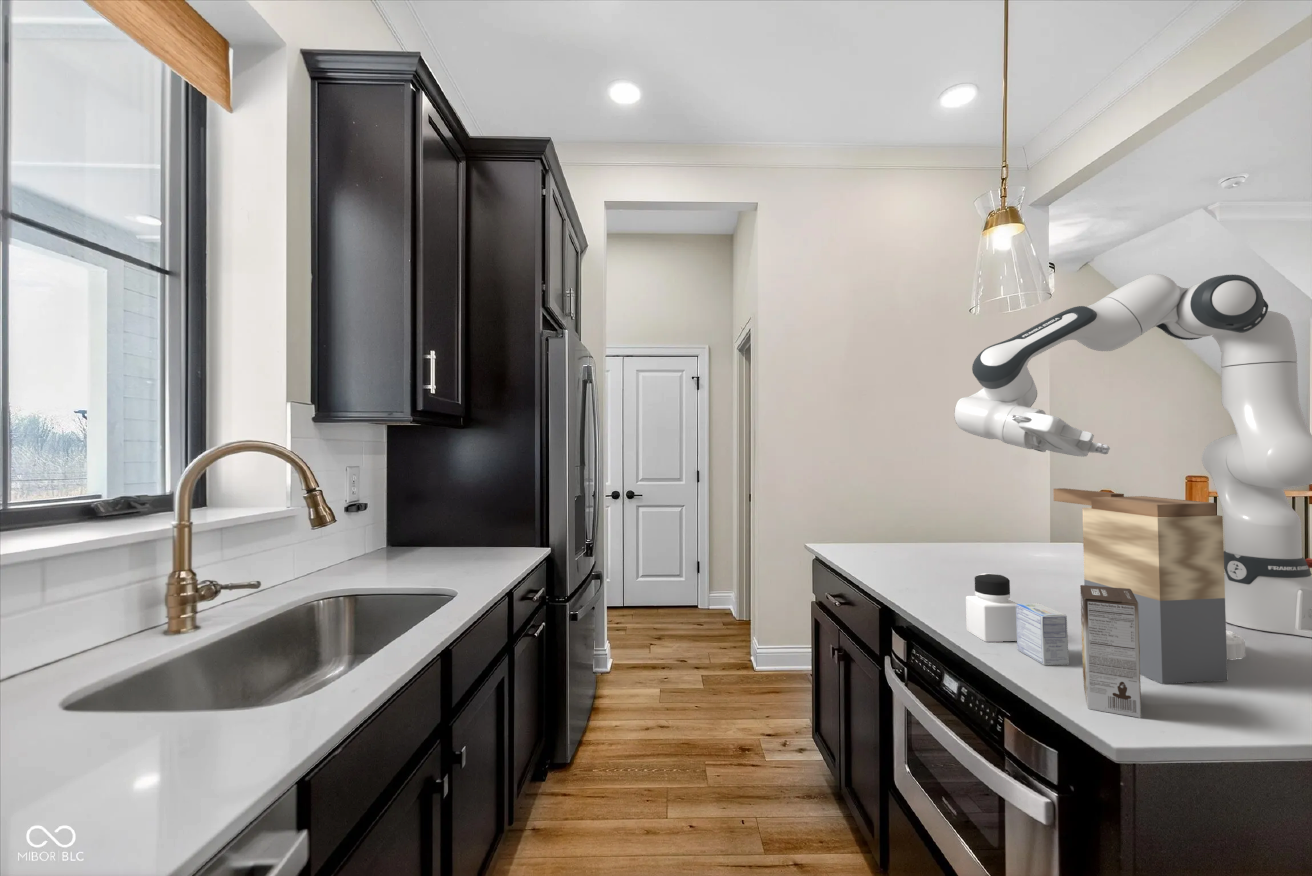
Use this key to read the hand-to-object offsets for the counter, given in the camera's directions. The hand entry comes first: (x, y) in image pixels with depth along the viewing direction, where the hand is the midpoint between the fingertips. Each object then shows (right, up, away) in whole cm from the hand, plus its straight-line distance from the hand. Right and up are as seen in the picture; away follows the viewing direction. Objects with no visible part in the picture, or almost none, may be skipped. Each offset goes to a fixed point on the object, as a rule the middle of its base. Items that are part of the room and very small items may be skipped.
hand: (1100, 444), depth 118 cm
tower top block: (-4, -24, -17) cm, 30 cm away
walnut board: (-5, -11, -10) cm, 16 cm away
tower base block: (-4, -37, -17) cm, 41 cm away
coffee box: (-22, -38, -31) cm, 53 cm away
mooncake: (+11, -38, -10) cm, 40 cm away
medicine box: (-20, -38, -13) cm, 45 cm away
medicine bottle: (-22, -38, -1) cm, 44 cm away
